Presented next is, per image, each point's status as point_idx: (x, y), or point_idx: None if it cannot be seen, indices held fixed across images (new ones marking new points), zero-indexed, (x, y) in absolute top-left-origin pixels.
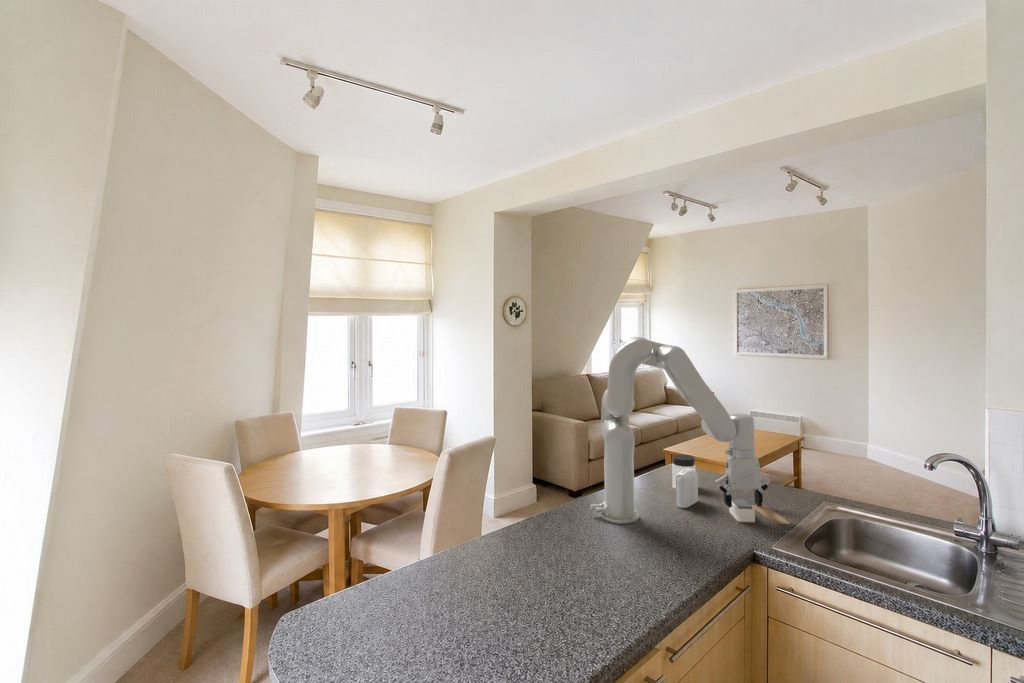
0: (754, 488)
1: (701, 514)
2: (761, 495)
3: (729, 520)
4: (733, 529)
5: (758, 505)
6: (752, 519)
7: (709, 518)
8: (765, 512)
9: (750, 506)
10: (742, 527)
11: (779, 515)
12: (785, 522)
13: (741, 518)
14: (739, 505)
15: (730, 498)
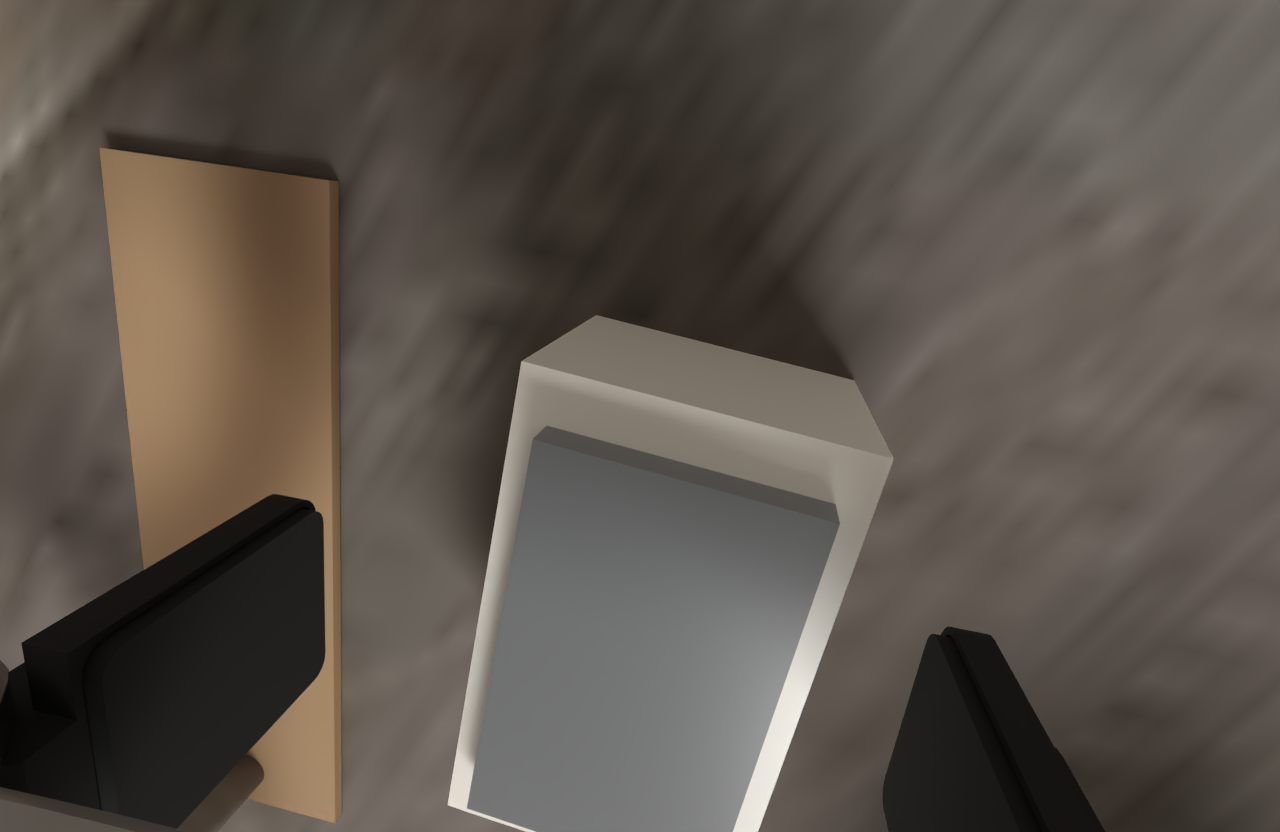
0: (15, 815)
1: (1222, 804)
2: (69, 618)
3: (939, 495)
4: (1179, 120)
5: (243, 766)
6: (623, 333)
7: (1222, 646)
8: None
9: (559, 466)
10: (932, 179)
11: (131, 445)
12: (158, 196)
13: (810, 386)
14: (773, 587)
15: (1050, 798)
